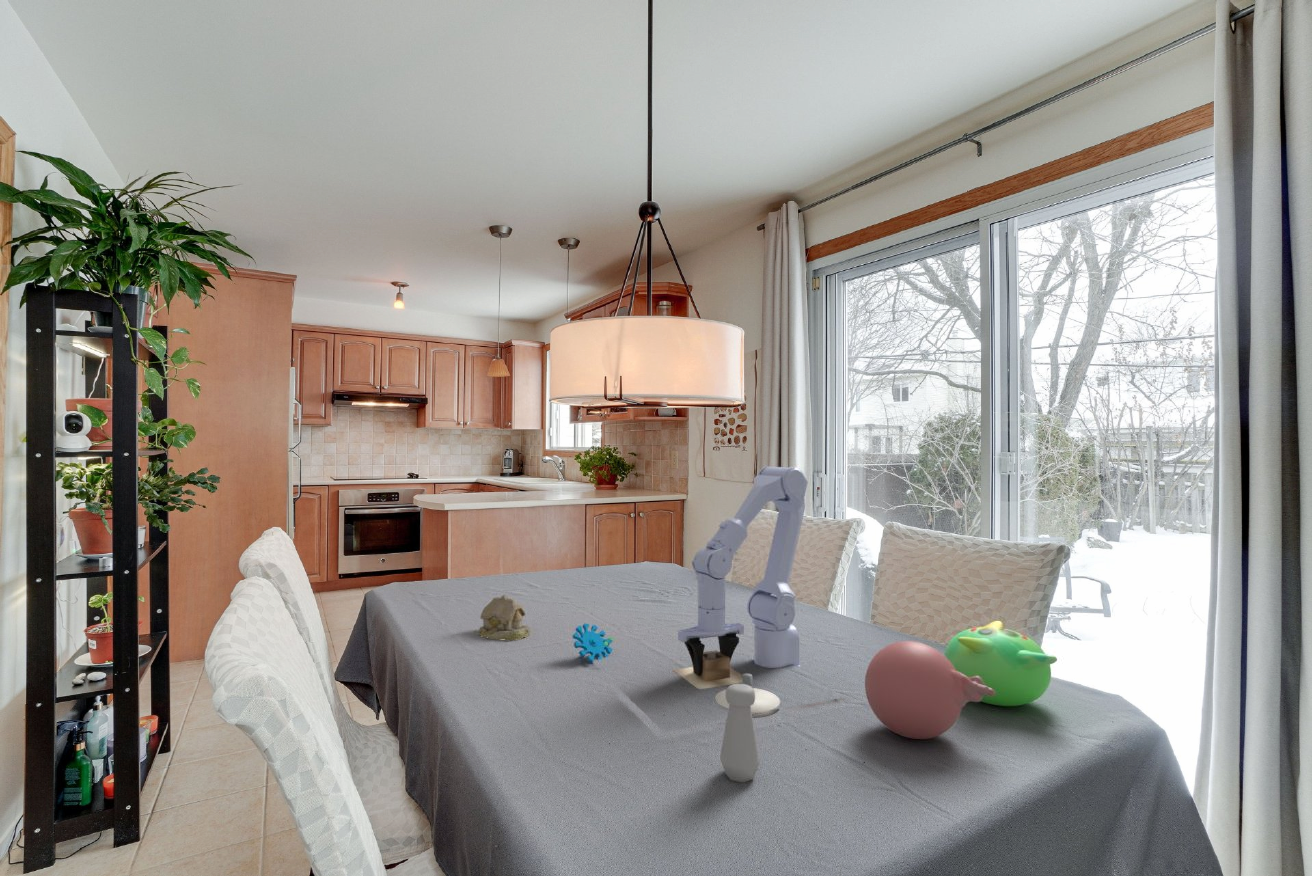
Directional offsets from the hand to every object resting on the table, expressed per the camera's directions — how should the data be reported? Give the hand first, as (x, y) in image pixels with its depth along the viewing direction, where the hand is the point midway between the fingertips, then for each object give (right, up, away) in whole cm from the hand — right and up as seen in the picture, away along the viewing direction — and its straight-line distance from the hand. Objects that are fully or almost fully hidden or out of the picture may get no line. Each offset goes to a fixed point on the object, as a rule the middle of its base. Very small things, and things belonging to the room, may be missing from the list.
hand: (711, 672), depth 135 cm
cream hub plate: (+6, -1, -13) cm, 14 cm away
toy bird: (+53, -2, -11) cm, 54 cm away
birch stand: (0, -2, 0) cm, 2 cm away
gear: (-25, -2, +13) cm, 29 cm away
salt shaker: (+1, -1, -39) cm, 39 cm away
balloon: (+34, -2, -27) cm, 43 cm away
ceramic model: (-50, -2, +33) cm, 60 cm away
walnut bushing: (0, -1, 0) cm, 1 cm away
